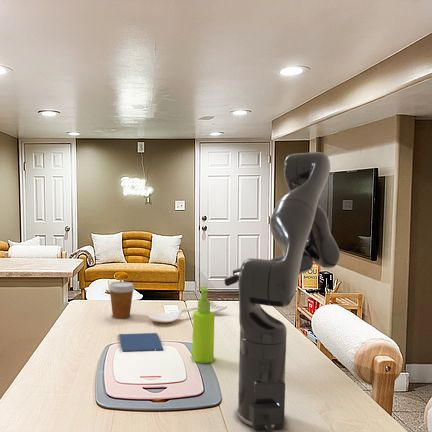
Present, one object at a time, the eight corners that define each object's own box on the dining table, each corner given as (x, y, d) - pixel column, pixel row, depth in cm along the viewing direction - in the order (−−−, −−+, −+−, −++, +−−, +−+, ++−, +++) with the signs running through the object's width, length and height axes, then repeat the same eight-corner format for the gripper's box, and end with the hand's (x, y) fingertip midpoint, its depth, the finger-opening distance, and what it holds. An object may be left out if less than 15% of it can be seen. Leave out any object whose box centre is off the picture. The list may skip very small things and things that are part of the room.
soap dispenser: (210, 353, 125) (212, 285, 123) (215, 363, 118) (216, 291, 116) (190, 353, 124) (191, 285, 123) (194, 363, 117) (195, 291, 116)
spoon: (227, 314, 164) (228, 305, 163) (157, 327, 147) (157, 317, 147) (212, 308, 171) (212, 300, 171) (143, 320, 155) (143, 311, 154)
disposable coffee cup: (104, 314, 163) (104, 282, 162) (128, 311, 167) (128, 280, 166) (113, 321, 154) (114, 288, 153) (138, 318, 158) (138, 285, 157)
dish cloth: (163, 350, 127) (163, 348, 127) (122, 351, 125) (122, 350, 125) (156, 334, 141) (156, 333, 141) (119, 335, 139) (119, 334, 139)
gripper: (262, 251, 132) (218, 268, 127) (295, 265, 120) (248, 284, 114) (264, 273, 134) (221, 290, 129) (297, 289, 122) (250, 309, 116)
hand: (233, 287), depth 121 cm, fingers open, 8 cm apart
